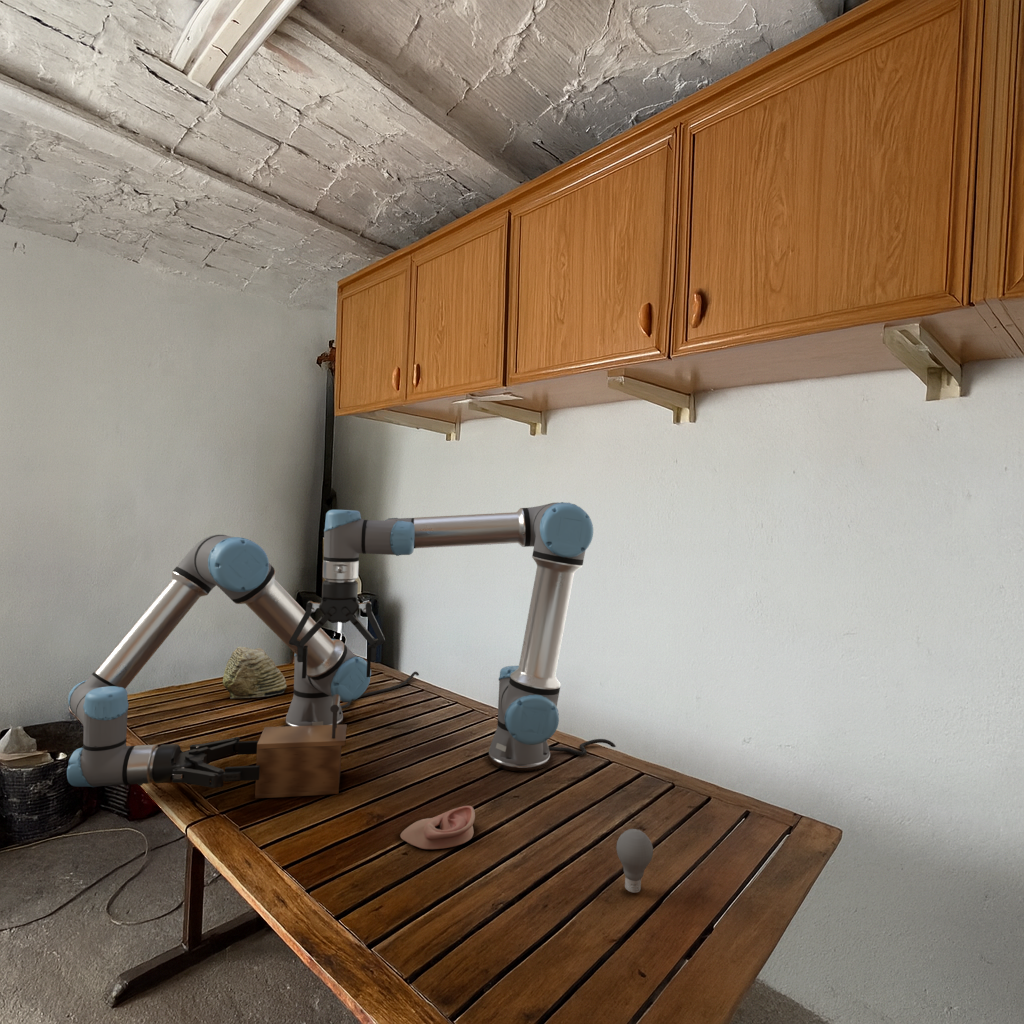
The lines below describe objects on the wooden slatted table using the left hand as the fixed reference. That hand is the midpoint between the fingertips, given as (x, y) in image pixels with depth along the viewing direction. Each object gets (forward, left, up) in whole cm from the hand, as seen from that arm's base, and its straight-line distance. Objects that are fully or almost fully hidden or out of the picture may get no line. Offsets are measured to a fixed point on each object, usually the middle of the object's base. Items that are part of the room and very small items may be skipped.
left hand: (264, 759), depth 136 cm
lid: (-6, +5, +4) cm, 9 cm away
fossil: (-31, -60, -6) cm, 68 cm away
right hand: (-11, +9, +18) cm, 23 cm away
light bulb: (-22, +77, -6) cm, 80 cm away
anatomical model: (-12, +41, -6) cm, 43 cm away
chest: (-6, +4, -6) cm, 10 cm away
